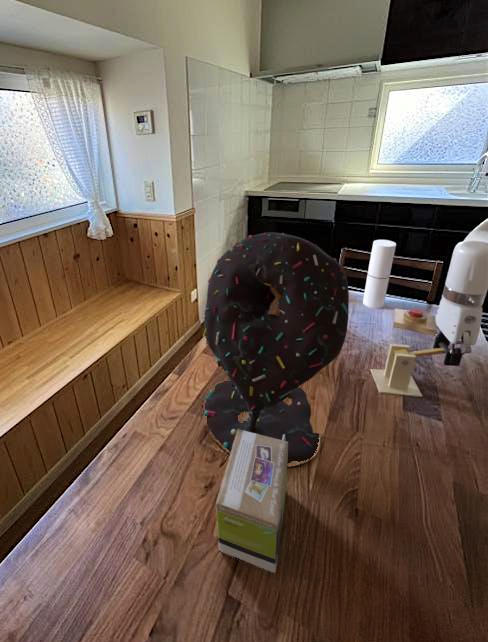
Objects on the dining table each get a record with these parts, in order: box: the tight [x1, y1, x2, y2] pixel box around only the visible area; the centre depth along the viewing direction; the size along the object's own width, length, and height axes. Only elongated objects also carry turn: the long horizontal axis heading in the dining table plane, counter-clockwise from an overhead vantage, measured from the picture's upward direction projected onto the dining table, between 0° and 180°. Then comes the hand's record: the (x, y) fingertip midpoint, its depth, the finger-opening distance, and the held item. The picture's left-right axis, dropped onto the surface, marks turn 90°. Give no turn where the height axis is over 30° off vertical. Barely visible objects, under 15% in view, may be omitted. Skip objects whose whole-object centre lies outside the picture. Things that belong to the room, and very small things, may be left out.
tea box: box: [215, 429, 288, 574], centre depth 60 cm, size 15×10×15 cm, turn 159°
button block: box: [392, 307, 437, 337], centre depth 115 cm, size 12×10×4 cm
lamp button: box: [409, 307, 424, 318], centre depth 114 cm, size 4×4×2 cm
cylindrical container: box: [362, 239, 397, 309], centre depth 125 cm, size 7×7×25 cm
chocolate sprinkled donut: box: [202, 231, 350, 464], centre depth 77 cm, size 30×32×45 cm
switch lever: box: [394, 342, 449, 358], centre depth 86 cm, size 12×5×2 cm, turn 77°
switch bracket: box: [370, 343, 423, 398], centre depth 89 cm, size 10×9×12 cm
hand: (445, 356), depth 85 cm, fingers closed on switch lever, 5 cm apart
